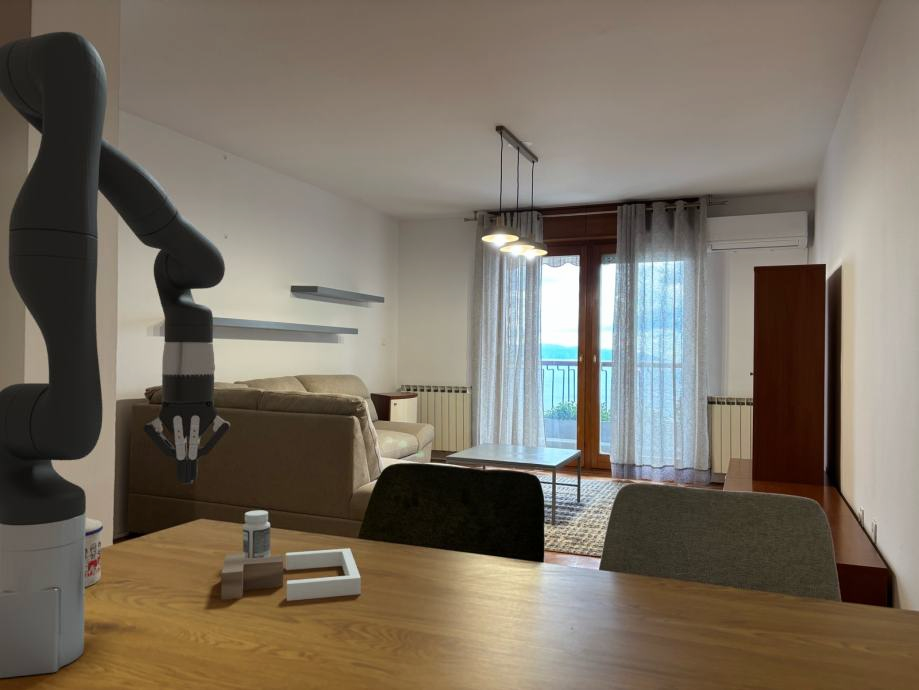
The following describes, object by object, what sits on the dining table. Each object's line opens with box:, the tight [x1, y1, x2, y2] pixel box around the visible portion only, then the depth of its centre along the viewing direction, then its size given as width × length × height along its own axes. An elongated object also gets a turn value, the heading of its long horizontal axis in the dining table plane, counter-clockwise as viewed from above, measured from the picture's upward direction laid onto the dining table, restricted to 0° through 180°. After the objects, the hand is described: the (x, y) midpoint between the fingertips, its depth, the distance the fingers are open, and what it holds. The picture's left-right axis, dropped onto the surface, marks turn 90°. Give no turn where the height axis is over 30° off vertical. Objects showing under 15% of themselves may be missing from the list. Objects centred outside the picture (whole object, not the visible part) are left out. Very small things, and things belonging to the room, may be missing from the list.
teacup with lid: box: [85, 517, 104, 588], centre depth 108 cm, size 12×9×12 cm
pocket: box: [285, 547, 362, 602], centre depth 109 cm, size 16×11×2 cm
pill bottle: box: [242, 509, 271, 558], centre depth 119 cm, size 5×5×8 cm
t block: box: [220, 551, 284, 601], centre depth 106 cm, size 10×9×4 cm
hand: (187, 483), depth 103 cm, fingers closed
